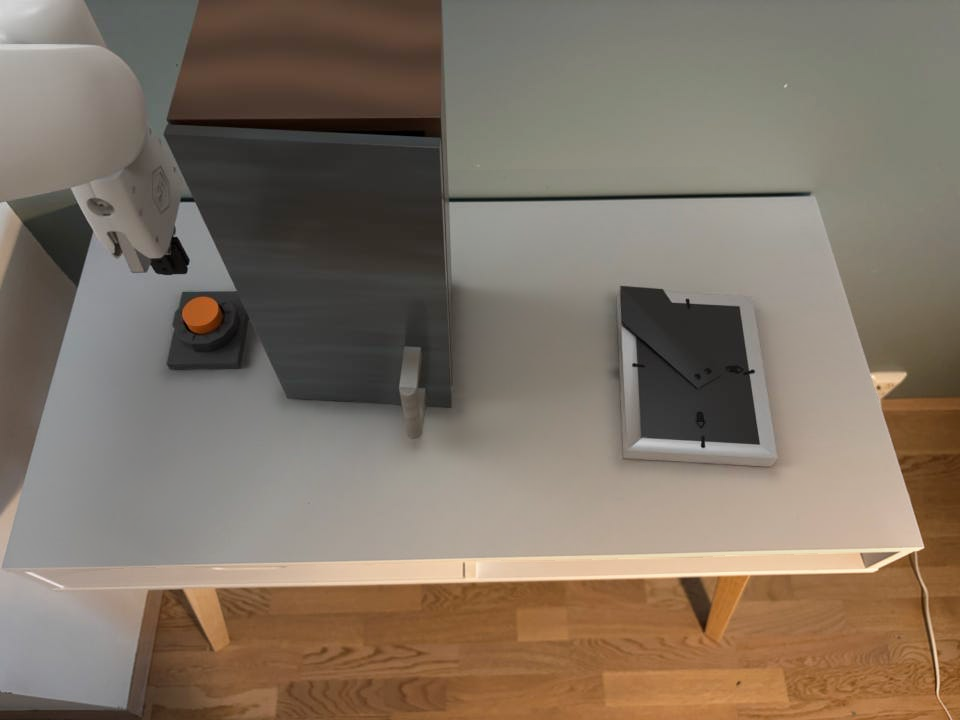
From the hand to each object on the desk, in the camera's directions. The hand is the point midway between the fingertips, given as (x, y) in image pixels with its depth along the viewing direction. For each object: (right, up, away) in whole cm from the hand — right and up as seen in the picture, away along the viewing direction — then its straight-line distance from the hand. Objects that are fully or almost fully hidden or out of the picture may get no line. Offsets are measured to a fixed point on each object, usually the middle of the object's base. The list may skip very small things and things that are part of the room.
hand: (173, 267), depth 75 cm
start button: (0, -5, +9) cm, 10 cm away
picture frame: (+55, -12, +9) cm, 57 cm away
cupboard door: (+19, -16, +5) cm, 25 cm away
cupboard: (+19, -6, +11) cm, 23 cm away
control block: (0, -6, +11) cm, 13 cm away
